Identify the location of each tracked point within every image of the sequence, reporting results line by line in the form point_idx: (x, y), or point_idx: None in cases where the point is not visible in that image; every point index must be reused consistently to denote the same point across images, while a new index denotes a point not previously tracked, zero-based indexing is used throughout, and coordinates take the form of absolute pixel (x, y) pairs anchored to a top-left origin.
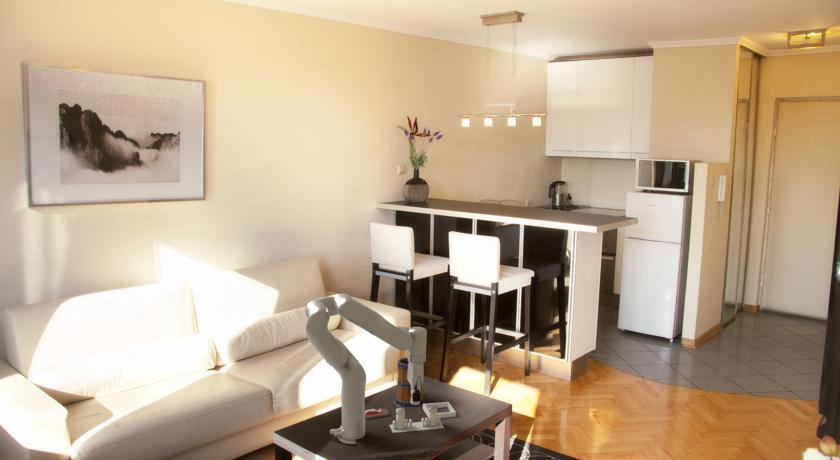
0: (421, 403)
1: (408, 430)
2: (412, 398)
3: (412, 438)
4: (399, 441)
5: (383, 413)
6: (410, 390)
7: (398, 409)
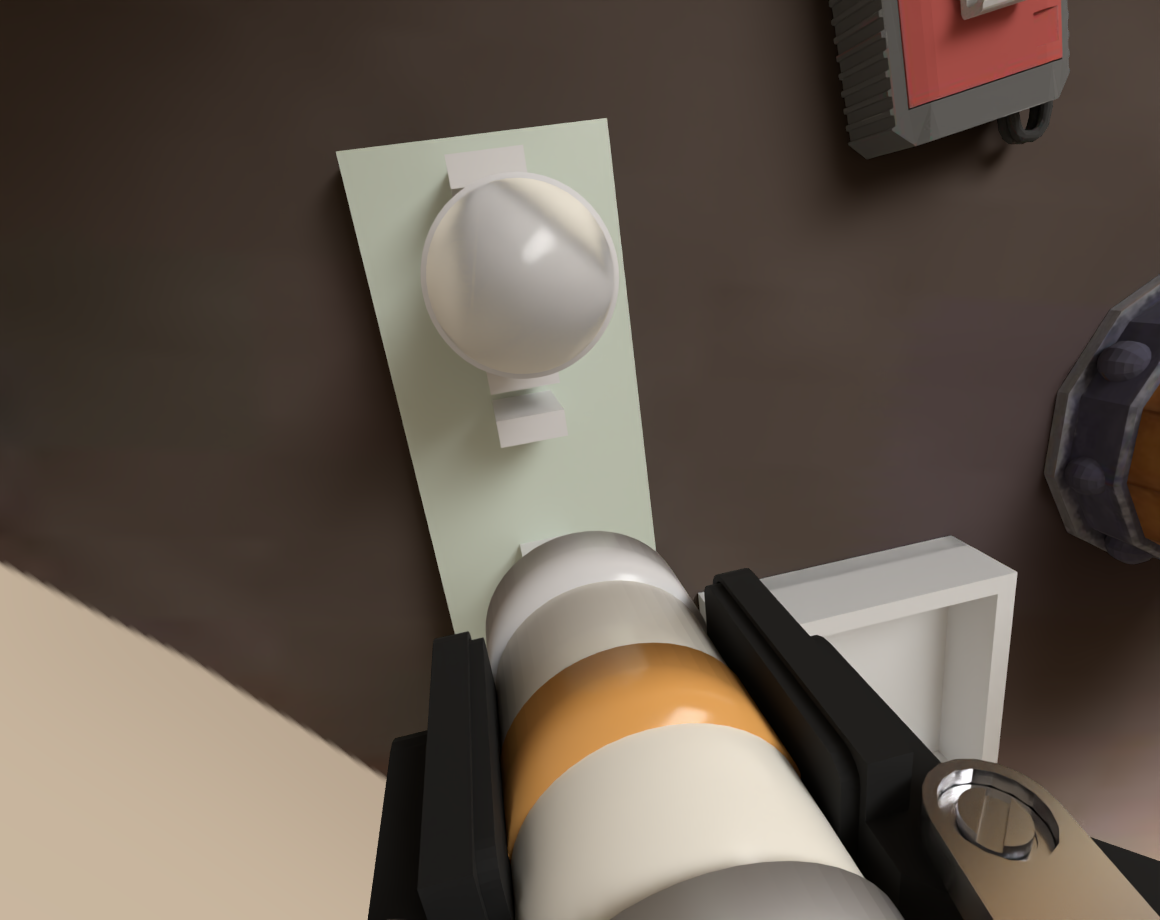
0: (1103, 532)
1: (415, 378)
2: (466, 676)
3: (292, 413)
4: (185, 243)
5: (918, 43)
6: (840, 700)
7: (526, 235)
